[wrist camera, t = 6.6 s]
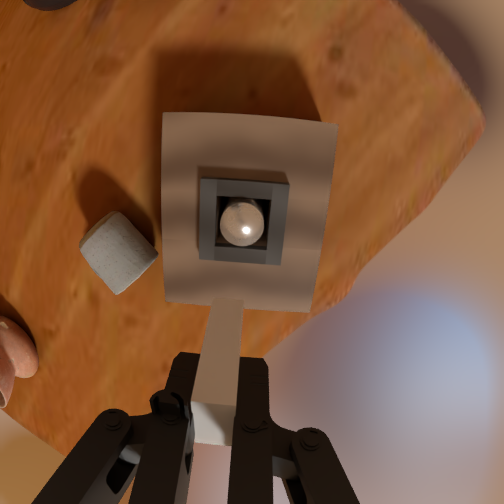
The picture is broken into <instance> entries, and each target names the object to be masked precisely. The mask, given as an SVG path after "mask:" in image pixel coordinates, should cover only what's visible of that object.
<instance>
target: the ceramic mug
mask: <svg viewBox="0 0 504 504" xmlns="http://www.w3.org/2000/svg"><path fill="white" fill-rule="evenodd" d="M79 248H80V251H81V253H82V254H83V256H84V258H85V259H86V260H87V261H88V263H89V264H90V266H91V268H92V269H93V270H94V272H95V273H96V274H97V275H98V276H99V277H100V278H102V280H103V281H104V282H105V283H106V284H107V286H108V287H109V288H110V289H111V290H112V292H113V293H114V294H116V295H117V294H119V293H121V292H123V291H124V290H125V289H126V288H127V287H128V286H129V285H131V284H132V283H133V282H134V281H135V280H136V279H137V278H138V277H139V276H140V275H141V274H142V273H143V272H144V271H145V270H146V269H147V268H148V267H149V266H150V265H151V264H152V263H153V262H154V260H155V259H156V258H157V257H158V255H159V254H158V252H157V251H156V249H155V248H154V247H153V246H152V245H151V244H150V243H149V242H148V241H147V240H146V239H145V238H144V236H143V235H142V234H141V233H140V232H139V231H138V230H137V229H136V228H135V227H134V226H133V224H132V223H131V222H130V221H129V220H128V219H127V218H126V217H125V216H124V215H123V214H121V213H120V212H118V211H112V212H110V213H108V214H107V215H106V216H104V217H103V218H102V219H101V220H100V221H99V222H97V223H96V224H95V225H94V226H93V227H92V228H91V229H90V230H89V231H88V232H87V233H86V234H85V235H84V237H83V238H82V239H81V241H80V243H79Z"/></svg>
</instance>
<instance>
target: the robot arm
mask: <svg viewBox="0 0 504 504" xmlns="http://www.w3.org/2000/svg"><path fill="white" fill-rule="evenodd" d="M23 1H24V2H25V3H26V4H27V5H29V6H31V7H33V8H36V9H39V10H43V11H52V10H57V9H60V8H63V7H65V6H68V5H70V4H72V3H73V2H75V1H77V0H23ZM243 305H244V300H238V299H225V298H213V301H212V305H211V310H210V314H209V318H208V323H207V327H206V332H205V336H204V341H203V346H202V350H201V354H196V353H187V352H180V353H179V354H178V355H177V356H176V357H175V358H174V359H173V363H172V366H171V370H170V373H169V377H168V379H167V383H166V386H165V389H164V390H160V391H157V392H156V393H155V394H153V395H152V397H151V398H150V400H149V401H150V405H151V409H152V412H151V413H149V414H146V415H139V416H129V415H128V414H127V413H126V412H124V411H123V410H119V409H108V410H105V411H103V412H102V413H101V414H100V415H98V417H97V418H96V419H95V421H94V422H93V423H92V424H91V426H90V427H89V428H88V430H87V431H86V432H85V433H84V435H83V436H82V437H81V439H80V440H79V441H78V443H77V444H76V445H75V447H74V448H73V449H72V450H71V452H70V453H69V454H68V456H67V457H66V458H65V460H64V461H63V462H62V464H61V465H60V466H59V468H58V469H57V470H56V471H55V473H54V474H53V475H52V477H51V478H50V479H49V481H48V482H47V483H46V485H45V486H44V487H43V489H42V490H41V492H40V493H39V494H38V495H37V497H36V498H35V499H34V501H33V502H32V503H31V504H118V503H119V502H120V500H121V498H122V497H123V495H124V493H125V492H126V490H127V488H128V487H129V485H130V483H131V482H132V480H133V478H134V477H135V480H134V484H133V488H132V491H131V496H130V499H129V504H186V501H187V494H188V488H189V481H190V474H191V468H192V462H193V444H194V438H195V442H196V443H206V444H215V445H226V446H232V450H231V462H230V475H229V488H228V501H227V504H273V476H277V477H280V478H281V479H282V481H283V484H284V487H285V490H286V493H287V496H288V499H289V502H290V504H360V503H359V501H358V499H357V497H356V495H355V493H354V490H353V488H352V487H351V484H350V482H349V480H348V478H347V476H346V474H345V472H344V470H343V467H342V465H341V463H340V461H339V459H338V457H337V455H336V453H335V451H334V449H333V446H332V444H331V442H330V440H329V438H328V437H327V435H326V434H325V433H324V432H322V431H321V430H319V429H316V428H312V427H311V428H303V429H300V430H298V431H297V432H294V431H291V430H288V429H285V428H282V427H280V426H278V425H277V424H276V423H275V422H274V421H273V420H272V418H271V416H270V412H269V378H268V366H267V364H266V362H265V361H264V359H263V358H251V357H240V347H241V333H242V319H243ZM135 475H136V476H135Z"/></svg>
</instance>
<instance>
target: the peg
mask: <svg viewBox="0 0 504 504" xmlns="http://www.w3.org/2000/svg"><path fill="white" fill-rule="evenodd" d="M220 230H221V233H222V235H223V236H224V238H225V239H226V240H227V241H228V242H230V243H232V244H234V245H237V246H247V245H251V244H253V243H255V242H256V241H257V240H258V239H259V238H260V237H261V235H262V233H263V230H264V215H263V199H257V198H244V197H230V196H229V197H228V200H227V203H226V206H225V209H224V211H223V214H222V217H221V220H220Z"/></svg>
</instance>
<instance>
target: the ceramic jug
mask: <svg viewBox="0 0 504 504" xmlns="http://www.w3.org/2000/svg"><path fill="white" fill-rule="evenodd" d="M38 365H39V358H38V354H37V351H36V348H35V346H34V344H33V342H32V340H31V339H30V337H29V336H28V335H27V333H26V332H25V331H24V330H23V329H22V328H21V327H20V326H19V325H18V324H16V323H15V322H13V321H12V320H10V319H9V318H7V317H4V316H0V408H4V407H5V406H6V405H7V403H8V401H9V398H10V396H11V392H12V389H13V384H14V377H15V376H17V377H20V378H28V377H31V376H33V375H34V374H35V373H36V371H37V369H38Z"/></svg>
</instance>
